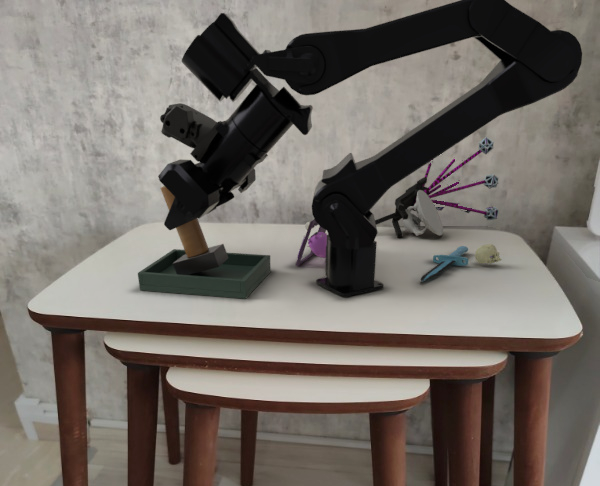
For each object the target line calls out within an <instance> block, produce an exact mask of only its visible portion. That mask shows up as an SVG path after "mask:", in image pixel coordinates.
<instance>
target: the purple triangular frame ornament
mask: <svg viewBox="0 0 600 486" xmlns="http://www.w3.org/2000/svg"><path fill="white" fill-rule="evenodd" d="M317 226H319V224H318V223H317V222H316V221H315V219H314V218H313V219H312V220H311V221H307V222H305V225H304V227H305V230H306V233H305V235H303V238H302V241H301V244H300V246H299V249H298V254H297V259H296V262H295V266H296V267H299V266H301V265H302V264H303V263H305V262H307V260H309V259H310V258H311V257H312V256H314V255H315V256H317V257H318V258H322V259H326V246H327V235H328V232H327V230H325V229H323V228H322V227H320V226H319V227H318V230H317V231H316V232H314V233H313V234H312V235H311V236H310V234H311V231H312V229H314V228H315V227H317ZM306 247H307V248H309V249H310V253H308V254H307V255H306V256H305V257H304V258H303V254H304V252H305V249H306Z"/></svg>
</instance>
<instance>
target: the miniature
mask: <svg viewBox="0 0 600 486" xmlns="http://www.w3.org/2000/svg"><path fill="white" fill-rule="evenodd" d="M432 200H433V199H432V198H429V195H427V194H426V193H425V192H424V191H422V190H419V191H418V192H417V197H416V203H415V204H414V206H410V207H408V208H407V209H406V212H407V214H408V219H405V220H403V219H402V225H403V228H404V230H405V231H406V232H407V233H411V234H414V235H415V236H416V237H418V236H421V235H423V234H424V233H425V232H426V230H428V231H430V232H432V234H435V235H437V236H439V237H440V236H443V234H444V225H443V221H442V219H441V215H440V214H439V211H438V210H437V209H436V207H435V205H434V204H433V202H432ZM411 209H414V210H415V211H414V212H416V214H415V213H412V210H411ZM421 223H422V224H423V225H424V226H425V227H424V228H423V229H421Z"/></svg>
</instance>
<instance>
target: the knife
mask: <svg viewBox="0 0 600 486" xmlns="http://www.w3.org/2000/svg"><path fill="white" fill-rule="evenodd" d="M468 251H469V247H467V246H465V245H460V246H458V247H457V248H456V249H455V250H453V251H452V252H451V253H450V254H433V257H432V262H433V263H436V264H437V265H435V266H433V268H431V269H430V270H428V271H427V272H426V273H424V274H423V275H422V276H421V277H420V283H423V282H426V281H428V280H430V279H433V278H435V277H438V276H439V275H441V274H442V273H443V272H444V271H446V270H447V269H448V268H449V267H451V266H459V267H461V266H468V265H469V257H464V256H462V255H464V254H466V253H467V252H468Z"/></svg>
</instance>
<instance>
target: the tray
mask: <svg viewBox="0 0 600 486" xmlns="http://www.w3.org/2000/svg"><path fill="white" fill-rule="evenodd" d="M185 254H186V253H185V250H184V249H177V248H173V249H172V250H170V251H169V252H167V253H166V254H164V255H163V256H161V257H160V258H158V259H156V260H154V262H152V263H150V264H149V265H147V266H146V267H144V268H143V269H142V270H140V271H138V272H137V279H138V286H139V291H145V292H155V293H156V292H157V293H169V294H170V293H171V294H183V295H193V296H206V297H219V298H230V299H231V298H232V299H244V300H246V299H247V298H248V297H249V296H250V295H251V294H252V293H253V292H254V291H255V290H256V289H257V287H258V286H259V285H260V284H261V283H262V282H263V281H264V280H265V278H266V277H268V275H269V274H270V273H271V272H272V271H271V270H272V269H271V255H269V254H257V253H256V254H253V253H240V252H227V255H228V259H227V260H226V261H225V262H224V263H223V264H222V265H220V266H219V267H217V268H213V269H209V270H206V271H202V272H198V273H194V274H191V275H178V274H177V273H176V271H175V268H174V266H173V263H174V262H175V261H176V260H178V259H179V258H180V257H182V256H183V255H185Z"/></svg>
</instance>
